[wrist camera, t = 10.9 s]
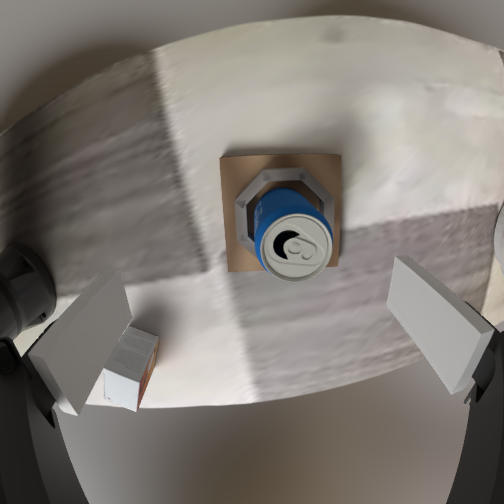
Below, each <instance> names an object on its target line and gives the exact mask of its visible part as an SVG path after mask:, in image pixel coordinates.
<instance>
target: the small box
mask: <svg viewBox="0 0 504 504" xmlns="http://www.w3.org/2000/svg"><path fill="white" fill-rule="evenodd" d="M158 343H159V337H158V336H155V335H152V334H149V333H147V332H144V331H141V330H139V329H136V328H134V327H131V326H128V327H127V329H126V330H125V332H124V334H123V335H122V337H121V338H120V340H119V342H118V343H117V345H116V346H115V348H114V350H113V351H112V353H111V355H110V357H109V359H108V360H107V362H106V364H105V366H104V368H103V372H104V399H106V400H108V401H110V402H113V403H115V404H117V405H120V406H122V407H125V408H127V409H130V410H132V411H135V412H137V411H138V408H139V405H140V403H141V400H142V398H143V395H144V392H145V390H146V387H147V385H148V382H149V380H150V377H151V375H152V372H153V370H154V364H155V358H156V353H157V348H158Z"/></svg>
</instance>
